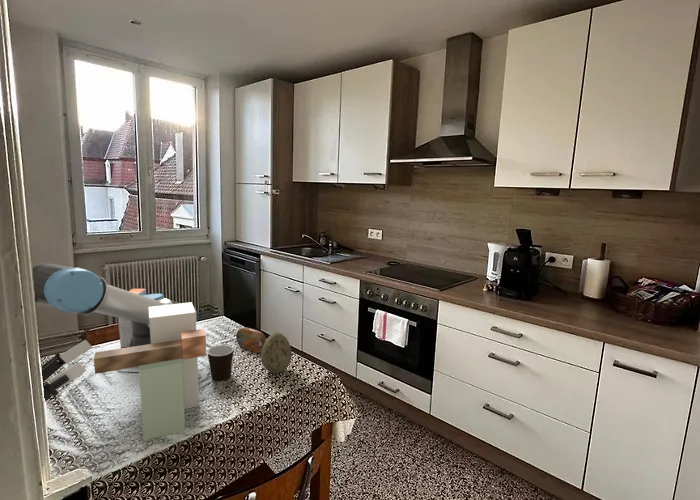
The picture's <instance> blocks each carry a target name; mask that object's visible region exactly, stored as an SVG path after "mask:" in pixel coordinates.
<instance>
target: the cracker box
mask: <svg viewBox="0 0 700 500" xmlns="http://www.w3.org/2000/svg"><path fill="white" fill-rule="evenodd" d="M128 291H129V292H132V293H136V294H139V295H142V296H143V295H147V289H146V288H132V289H130V290H128ZM117 321H118V331H119V342H120V349H121V348H128V347H129V346H130V342H131V339H132V327H131V320H127V319H122V318H118V317H117Z"/></svg>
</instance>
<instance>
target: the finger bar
mask: <svg viewBox="0 0 700 500" xmlns="http://www.w3.org/2000/svg"><path fill="white" fill-rule="evenodd" d="M206 356H207V334H206V332H205V330H204V328H199V329H196V330H192V331H185V332H181V340H174V341H168V342H161V343H154V344H148V345H141V346H134V347H128V348H121V347H120V348H115V349H108V350H102V351H96V352H95V353H94V357H93V364H94V375H96V374H103V373H108V372H109V373H110V372H113V371H121V370H125V369H126V370H127V369H133V368H137V367H138V368H139V366H140V365H146V364H152V363H158V362H163V361H169V360H175V359H183V360H184V359H190V358H195V357H197V358H202V357H206Z"/></svg>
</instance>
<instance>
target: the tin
mask: <svg viewBox="0 0 700 500" xmlns="http://www.w3.org/2000/svg"><path fill="white" fill-rule="evenodd" d="M235 337H236V342H237V344H238V346H239V347H240V348H242V349H243V350H247V351H251V352H253V353H256V354H257V353H260V352H262V348H263V345H264V343H265V341H266V340H267V338H266V336H265V334H264V333H263V332H262V331H260V330H257V329H254V328H250V327H242V328H239V329H238V330H237V331H236V336H235Z"/></svg>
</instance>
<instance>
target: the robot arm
mask: <svg viewBox="0 0 700 500" xmlns="http://www.w3.org/2000/svg"><path fill="white" fill-rule="evenodd" d="M32 266H33V279H34V290H35V301H36V306H35V307H38V306H43V307H47V308H51V309H56V310H59V311H62V312H66V313H73V314H78V315H83V316H87V315H91V314H93V313H98V314H101V315H106V316H110V317H115V318H117V319H118V318H122V319H127V320H131V327H132V339H131V342H130V346H129V347H134V346H141V345H148V344H151V339H150V323H149V307H153V306H162V305H171V304H180V302H177V301H173V300H171V299H168V298H165V295H164V294H163V293H151V294H146V295H143V296H142V295H139V294H136V293H132V292H129V291H130V290H126V289H123V288H119V287H116V286H115V285H114V286H113V285H110V284H107V283H108V282H107V281H106V280H105V278H103V276H100V275H97V274H96V273H94V272H93V271H90V270H88V269H85V268H81V267H74V266H73V267H72V266H66V265H62V264H61V265H60V264H56V263H49V262H47V263H37V264H33V265H32ZM194 309H195V312H196V323H197V321H198V312H197V309H196V308H195V307H194ZM92 349H93V346H92V345H91V344H90V343H89V342H88V340H86V339H84V340H82V341H81V342H79V343H77V344H76V345H74V346H72V347H71V348H69V349H67V350H66V351H64V352H63V353H60V352H57V353H55V354H54V356H53V357H50V359H49V360H47V361H46V362H45V363H43V364H42V365H41V366H42V376H43V387H44V398H45V401H44V402H47V401H49V400H50V399H51V398H52V397H56V396H57V395H58V394H59V392H58V390H60V389H61V388H63V387H64V386H66V385H67V384H68V383H70V382H72V381H73V380H75V379H76V378H78V377H79V376H81V375H83V374H84V373H86V372H87V368H86V367H85V366H84V365H83V364H82V363H81V362H79V361H78V362H76V363H74V364H73V365H71V366H70V367H68V368H67V369H64V370H63V371H62V372H60V373H58V374H56V375H54V376H53V374H55V373H56V372H57V371H58V370H59V369H60V368H62V367H63V366H64V365H65V364H69V363H70V362H72V361H74V360H75V359H76V358H78V357H80V356H81V355H83V354H85V353H87V352H88V351H90V350H92ZM51 376H53V377H51ZM50 377H51V378H50ZM48 378H50V379H49V380H48ZM46 380H48V382H47V383H45V381H46Z"/></svg>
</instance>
